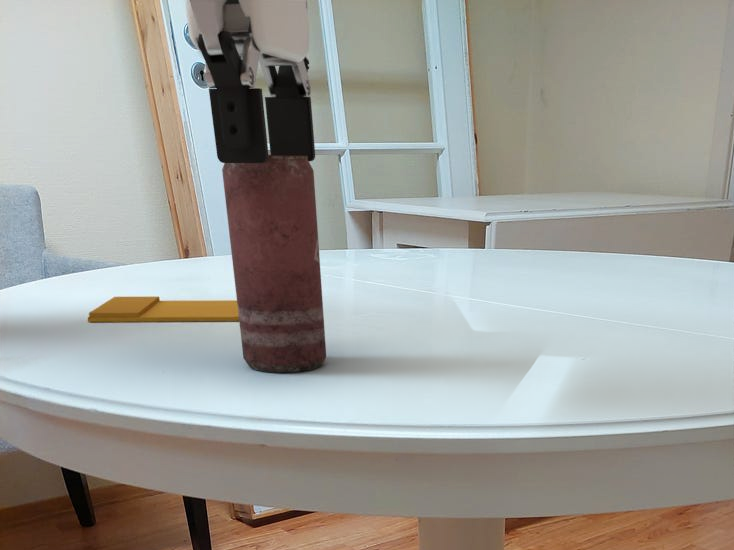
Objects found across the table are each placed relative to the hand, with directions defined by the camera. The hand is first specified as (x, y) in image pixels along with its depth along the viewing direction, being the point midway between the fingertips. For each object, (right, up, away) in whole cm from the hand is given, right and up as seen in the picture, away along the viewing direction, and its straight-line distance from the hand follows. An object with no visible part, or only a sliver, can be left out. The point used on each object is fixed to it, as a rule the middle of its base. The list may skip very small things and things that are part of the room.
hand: (270, 161), depth 60 cm
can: (0, -12, +7) cm, 14 cm away
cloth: (-12, 0, +27) cm, 29 cm away
